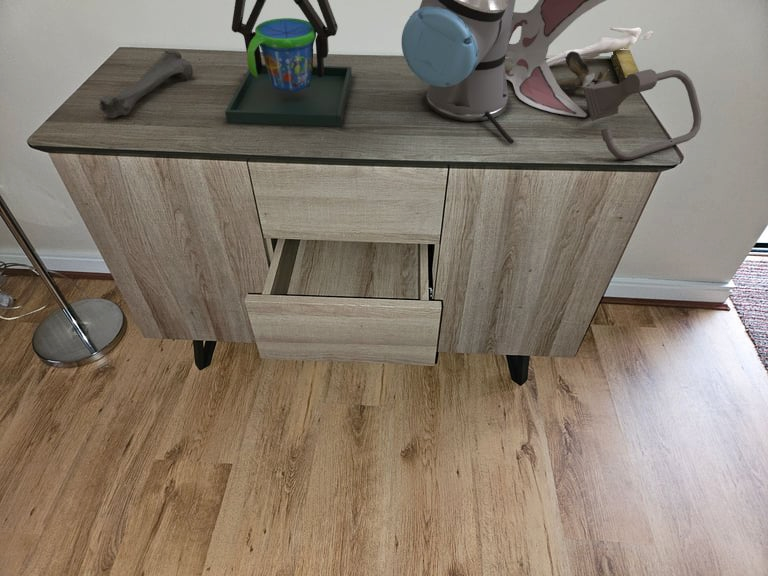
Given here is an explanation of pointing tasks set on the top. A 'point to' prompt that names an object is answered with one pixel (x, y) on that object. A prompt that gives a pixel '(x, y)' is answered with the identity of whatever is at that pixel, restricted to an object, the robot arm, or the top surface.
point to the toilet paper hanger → (610, 96)
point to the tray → (292, 100)
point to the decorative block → (623, 64)
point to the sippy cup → (284, 52)
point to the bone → (146, 83)
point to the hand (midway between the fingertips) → (290, 72)
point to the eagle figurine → (579, 73)
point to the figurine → (603, 45)
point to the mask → (542, 53)
